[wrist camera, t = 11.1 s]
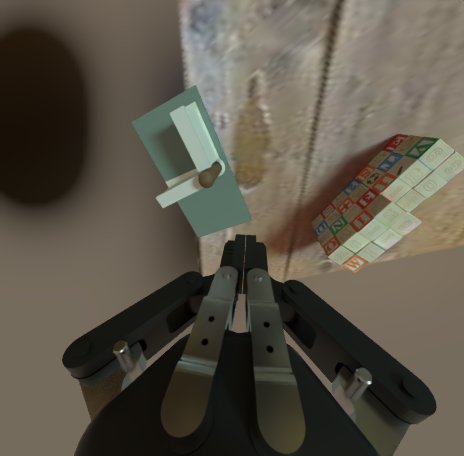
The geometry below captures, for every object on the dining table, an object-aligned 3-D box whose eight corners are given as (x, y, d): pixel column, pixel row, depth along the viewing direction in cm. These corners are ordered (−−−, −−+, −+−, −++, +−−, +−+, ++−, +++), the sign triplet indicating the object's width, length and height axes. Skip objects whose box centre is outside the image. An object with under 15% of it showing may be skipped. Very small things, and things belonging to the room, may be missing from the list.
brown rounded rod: (208, 163, 39) (193, 177, 30) (219, 158, 38) (208, 171, 29) (213, 175, 40) (201, 192, 31) (225, 170, 40) (215, 186, 30)
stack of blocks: (397, 132, 33) (463, 139, 23) (422, 152, 34) (496, 168, 24) (309, 223, 43) (327, 258, 33) (331, 237, 45) (354, 274, 34)
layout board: (132, 122, 37) (130, 122, 36) (195, 85, 33) (194, 85, 33) (198, 236, 48) (197, 237, 48) (251, 219, 44) (251, 220, 44)
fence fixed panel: (185, 113, 35) (169, 113, 28) (196, 107, 34) (182, 105, 28) (207, 163, 39) (198, 172, 32) (218, 158, 38) (210, 167, 32)
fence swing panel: (207, 165, 39) (197, 175, 32) (212, 176, 40) (204, 187, 33) (170, 185, 41) (155, 197, 35) (176, 194, 42) (163, 208, 36)
